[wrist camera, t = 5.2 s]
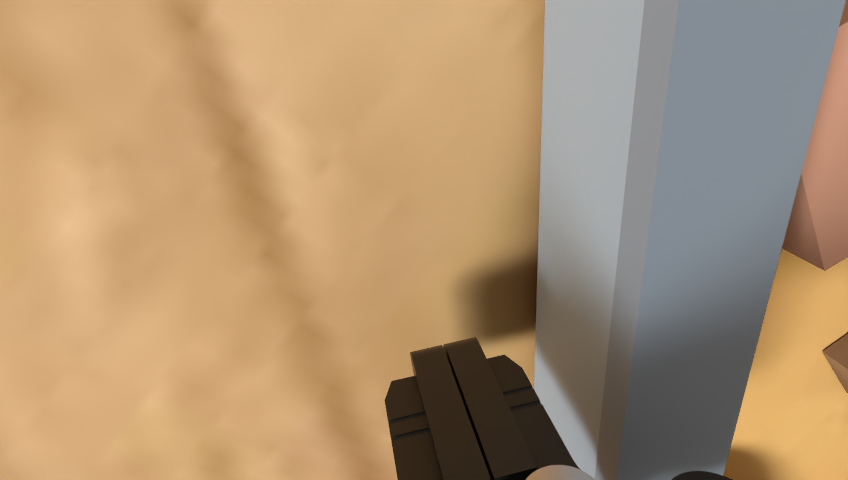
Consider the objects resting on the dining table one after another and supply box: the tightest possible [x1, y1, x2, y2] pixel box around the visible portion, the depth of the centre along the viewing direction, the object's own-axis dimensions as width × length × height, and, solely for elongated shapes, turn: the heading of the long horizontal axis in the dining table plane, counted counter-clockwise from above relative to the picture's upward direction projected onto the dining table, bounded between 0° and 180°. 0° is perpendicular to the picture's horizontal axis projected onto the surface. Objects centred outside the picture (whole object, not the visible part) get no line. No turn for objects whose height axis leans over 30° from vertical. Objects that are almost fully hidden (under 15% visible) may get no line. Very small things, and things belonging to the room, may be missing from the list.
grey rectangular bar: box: [534, 0, 846, 480], centre depth 10 cm, size 14×2×4 cm, turn 4°
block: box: [782, 0, 848, 271], centre depth 10 cm, size 4×4×4 cm
